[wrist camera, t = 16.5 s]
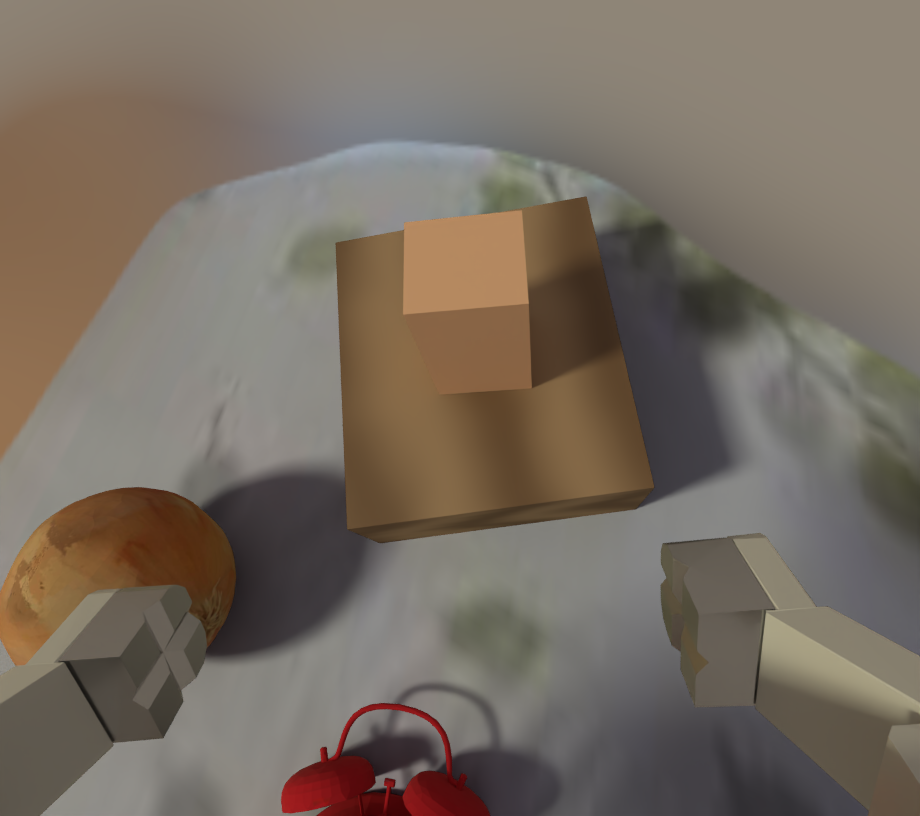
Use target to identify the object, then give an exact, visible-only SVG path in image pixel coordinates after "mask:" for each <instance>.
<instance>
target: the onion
mask: <svg viewBox="0 0 920 816" xmlns="http://www.w3.org/2000/svg"><path fill="white" fill-rule="evenodd" d="M235 582H236V571H235V562H234V556H233V551H232V549H231V546H230V544H229V541H228V539H227V537H226V535H225V533H224V532H223V530H222V529H221V528H220V526H219V525H218V524H217V523H216V522H215V521H214V520H213V519H211V518H210V516H208V515H207V514H206V513H205V512H204V511H203V510H201V509H200V508H199V507H198V506H197V505H196V504H194V503H193V502H191V501H190V500H188V499H186V498H184V497H182V496H180V495H178V494H175V493H172V492H168V491H164V490H158V489H150V488H142V487H134V488H120V489H114V490H109V491H105V492H102V493H98V494H95V495H92V496H89V497H87V498H85V499H82V500H79V501H77V502H74V503H72V504H70V505H69V506H67V507H65V508H63V509H62V510H60V511H59V512H57V513H55V514H54V515H52V516H51V517H50V518H48V519H47V520H46V521H44V522H43V523H42V524H41V525H40V526H39V527H38V528H37V529H36V530H35V531H34V532H33V534H32V535H31V536H30V538H29V539H28V540H27V542H26V543H25V544H24V546H23V547H22V549H21V550H20V552H19V554H18V555H17V557H16V559H15V561H14V563H13V565H12V567H11V569H10V571H9V573H8V575H7V578H6V580H5V582H4V584H3V587H2V589H1V592H0V639H1V641H2V643H3V645H4V647H5V649H6V650H7V652H8V654H9V656H10V657H11V659H12V661H13V662H14V664H15V665H16V666H20V665H26V664H27V662H28V661H29V660H30V659H31V658H32V657H33V656H34V655H35V653H36V652H37V651H38V650H39V649H40V648H41V647H42V646H43V644H44V643H45V642H46V641H47V640H48V639H49V638H50V637H51V635H52V634H53V633H54V632H55V631H56V630H57V629H58V628H59V626H60V625H61V624H62V623H63V622H64V621H65V620H66V619H67V617H68V616H69V615H70V614H71V613H72V612H73V611H74V610H75V608H76V607H77V606H78V605H79V604H80V603H81V602H82V601H83V600H84V598H85V597H86V596H87V595H88V594H90V593H93V592H95V591H97V590H104V589H123V588H129V587H145V586H162V585H179V586H182V587H185V588H186V590H187V592H188V594H189V596H190V598H191V600H192V604H191V606H190V609H189V611H188V612H189V613H190V614H192V615H193V616H194V617H196V618H197V619H199V620H200V621H201V623H202V625H203V628H204V630H205V633H206V641H207V647H208V646H209V645H210V644H211V643H212V641H213V640H214V639H215V637H216V635H217V633H218V632H219V630H220V629H221V627H222V626H223V624H224V622H225V620H226V618H227V616H228V613H229V611H230V608H231V605H232V602H233V597H234V592H235Z"/></svg>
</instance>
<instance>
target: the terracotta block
mask: <svg viewBox="0 0 920 816" xmlns="http://www.w3.org/2000/svg"><path fill="white" fill-rule="evenodd" d="M403 316H404V318H405V320H406V322H407V324H408V327H409V329H410V331H411V333H412V335H413V338H414V340H415V342H416V344H417V346H418V349H419V351H420V353H421V355H422V357H423V360H424V362H425V364H426V366H427V369H428V371H429V373H430V375H431V377H432V380H433V382H434V384H435V386H436V388H437V391H438V393H439V395H443V394H458V393H472V392H487V391H501V390H515V389H530V388H532V380H531V352H530V324H529V300H528V286H527V272H526V259H525V245H524V231H523V218H522V210H519V211H510V212H500V213H491V214H481V215H472V216H462V217H453V218H443V219H434V220H424V221H415V222H405V223H404V279H403Z"/></svg>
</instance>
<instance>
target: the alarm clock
mask: <svg viewBox="0 0 920 816" xmlns="http://www.w3.org/2000/svg"><path fill="white" fill-rule="evenodd" d="M377 709H391V710H400V711H405V712H409V713H412V714H415V715H417V716H420V717H422V718H424V719H425V720H427V721H429V722H430V723H431V724H432V725H433V726H434V727H435V728H436V729H437V730H438V732H439V734H440V735H441V738H442V740H443V743H444V747H445V753H446V764H447V775H446V774H444V773H440V772H436V771H423V772H420V773H419V774H417V775H416V776H414V777H413V778H412V779H411V781H410V782H409V784H408V786H407V788H406V790H405V792H404V794H403V797H402V796H399V795H395V794H391V787H394V786H395V781H396V780H394V779H389V778H385V781H384V786H387V791H386V793H376V792H372V793H365V794H362V793H364V792H365V791H367V790H368V789H370V788H372V787H373V785H374V784H375V783H376V781H375V775H374V771H373V768H372V765H371V764H370V763H369V761H368V760H366V759H364V758H362V757H360V756H341V757H340V755H341V752H342V749H343V746H344V743H345V740H346V737H347V734H348V732H349V730H350V727H351V726H352V724H353V723H354V721H355V720H356V719H357V718H358V717H359V716H360V715H362V714H364V713H366V712H368V711H373V710H377ZM320 752H321V761H320V762H317V763H315V764H312V765H310V766H308V767H306V768H303V769H301V770H299V771H298V772H297V773H295V774H294V775H293V776H292V777H291V778H290V779H289V780H288V781H287V782H286V784H285V786H284V788H283V791H282V797H281V804H282V812H283V813H296V812H303V811H309V810H313V809H318V808H322V807H326V806H329V807H328V808H326V809H325V810H323V811H322V812H321V813H319V814H318V815H317V816H490V813H489V811H488V809H487V807H486V805H485V804H484V803H483V801H482V800H481V799H480V798H479V797H478V796H477V795H476V794H475V793H474V792H473V791H472V790H471V789H470V788H468V787H467V786H465V785H464V784H465V781H466V779H467V775H465V774H463V773H462V774H461V776H460V778H459V780H456V779H454V778H453V776H452V756H451V749H450V744H449V740H448V737H447V734H446V732H445V731H444V729H443V728H442V726H441V725H440V724H439V722H438V721H437V720H436V719H434V718H433V717H431V716H430V715H429V714H427V713H425V712H423V711H421V710H418V709H416V708H412V707H409V706H405V705H401V704H389V703H379V704H372V705H368V706H366V707H363V708H361V709H360V710H358V711H357V712H356V713H354V714H353V715H352V717H351V718H350V719H349V721H348V722H347V724H346V726H345V728H344V730H343V733H342V735H341V739H340V742H339V745H338V748H337V752H336V754H335V755H334V756H333V757H332V758H330V759H328V754H327V748H326V747H322V748H321V749H320ZM330 805H331V806H330Z"/></svg>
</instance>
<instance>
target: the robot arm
mask: <svg viewBox="0 0 920 816" xmlns="http://www.w3.org/2000/svg"><path fill="white" fill-rule="evenodd" d="M661 565H662V568H663V570H664V573H665V575H666V579H665V580H664V582H663V583H662V584H661V605H662V612H663V619H664V623H665V626H666V630H667V633H668V636H669V639H670V642H671V645H672V646H673V647H675V648H676V649H677V650H679V651H680V652H681V672H682V674H683V677H684V680H685V682H686V685H687V688H688V690H689V693H690V696H691V698H692V701H693V703H694V706H695V707H722V706H755V705H756V707H755V709H757V710H758V711H759V712H760V713H761V714H762V715H763V716H764V717H765V718H766V719H768V720H769V721H770V722H771V723H772V724H773V725H774V726H775V727H776V728H778V729H779V730H780V731H781V732H782V733H783V734H784V735H785V736H786V737H788V738H789V739H790V740H791V741H792V742H793V743H794V744H795V745H796V746H797V747H799V748H800V749H801V750H802V751H803V752H804V753H805V754H806V755H807V756H809V757H810V758H811V759H812V760H813V761H814V762H815V763H816V764H817V765H819V766H820V767H821V768H822V769H823V770H824V771H825V772H826V773H827V774H828V775H830V776H831V777H832V778H833V779H834V780H835V781H836V782H837V783H838V784H840V785H841V786H842V787H843V788H844V789H845V790H846V791H847V792H848V793H850V794H851V795H852V796H853V797H854V798H855V799H856V800H857V801H858V802H860V803H861V804H862V805H863V806H864V807H865V808H866V809H867V810H868V811H869V813H868V816H920V656H919V655H917V654H915V653H913V652H911V651H909V650H907V649H906V648H904V647H902V646H900V645H898V644H896V643H895V642H893V641H891V640H889V639H887V638H885V637H883V636H882V635H880V634H878V633H876V632H874V631H872V630H870V629H869V628H867V627H865V626H863V625H861V624H859V623H857V622H856V621H854V620H852V619H850V618H848V617H846V616H845V615H843V614H841V613H839V612H837V611H835V610H833V609H832V608H830V607H828V606H827V607H817V606H816V605H815V603H814V602H813V601H812V599H811V598H810V597H809V595H808V594H807V592H806V591H805V590H804V588H803V587H802V586H801V584H800V583H799V581H798V580H797V579H796V577H795V576H794V574H793V573H792V572H791V570H790V569H789V568H788V566H787V565H786V563H785V562H784V561H783V559H782V558H781V557H780V555H779V554H778V552H777V551H776V550H775V548H774V547H773V545H772V544H771V543H770V541H769V540H768V539H767V537H766V536H764V535H763V534H761V533H755V534H746V535H736V536H727V538H714V539H703V540H693V541H682V542H671V543H663V544H662V548H661ZM191 604H192V600H191V598H190V596H189V594H188V592H187V590H186V588H185V587H182V586H179V585H162V586H145V587H129V588H123V589H104V590H97V591H95V592H93V593H90V594H88V595H87V596H86V597H85V598H84V600H83V601H82V602H81V603H80V604H79V605H78V606H77V607H76V608H75V610H74V611H73V612H72V613H71V614H70V615H69V616H68V617H67V619H66V620H65V621H64V622H63V623H62V624H61V625H60V626H59V628H58V629H57V630H56V631H55V632H54V633H53V634H52V635H51V637H50V638H49V639H48V640H47V641H46V642H45V643H44V644H43V646H42V647H41V648H40V649H39V650H38V651H37V652H36V653H35V655H34V656H33V657H32V658H31V659H30V660H29V661H28V662H27V664H26V665H20V666H15V667H14V668H12V669H10V670H9V671H7V672H5V673H4V674H2V675H1V676H0V816H40V815H41V814H42V813H43V812H44V811H45V810H46V809H47V808H48V807H49V806H50V805H52V804H53V803H54V802H55V801H56V800H57V799H58V798H59V797H60V796H61V795H62V794H63V793H64V792H65V791H66V790H67V789H68V788H69V787H71V786H72V785H73V784H74V783H75V782H76V781H77V780H78V779H79V778H80V777H81V776H82V775H83V774H84V773H85V772H86V771H87V770H88V769H89V768H91V767H92V766H93V765H94V764H95V763H96V762H97V761H98V760H99V759H100V758H101V757H102V756H103V755H104V754H105V753H106V752H107V751H108V750H110V749H111V748H112V747H113V745H114V744H113V743H116V742H127V741H138V740H149V739H160V738H164V736H165V734H166V732H167V731H168V729H169V727H170V725H171V723H172V721H173V720H174V718H175V716H176V714H177V712H178V711H179V709H180V707H181V705H182V703H183V696H182V691H181V690H182V689H183V688H184V687H186V686H187V685H188V684H189V683H190V682H192V681H193V680H194V679H195V678H196V677H197V675H198V673H199V671H200V669H201V667H202V665H203V664H204V659H205V654H206V648H207V641H206V633H205V630H204V628H203V625H202V623H201V621H200V620H199V619H197V618H196V617H194V616H193V615H192V614H190V613H189V612H188V611H189V609H190V606H191Z"/></svg>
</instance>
